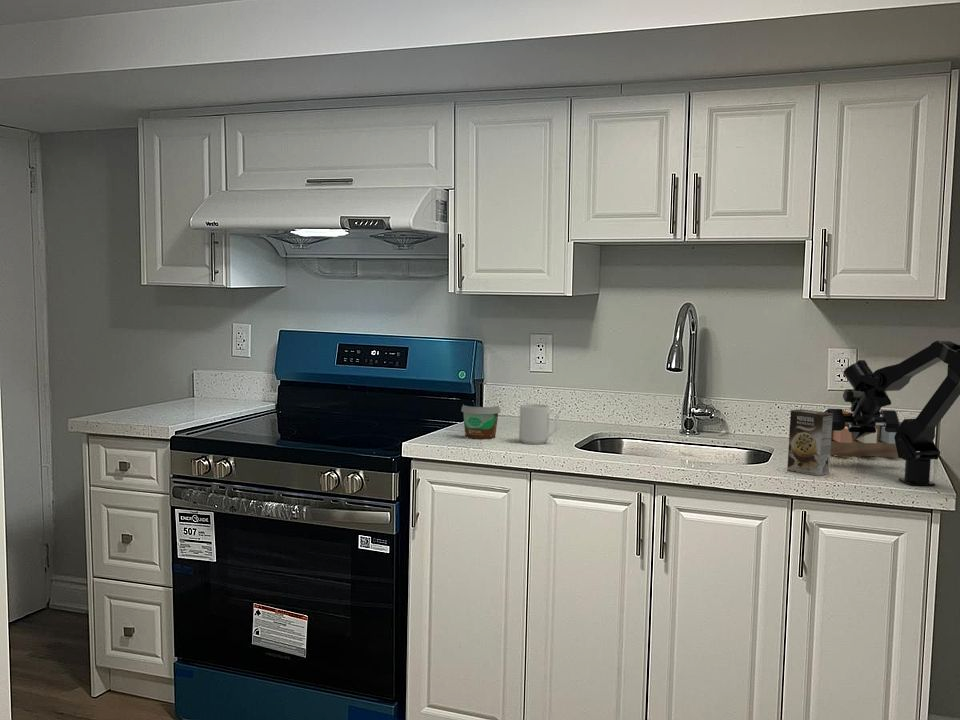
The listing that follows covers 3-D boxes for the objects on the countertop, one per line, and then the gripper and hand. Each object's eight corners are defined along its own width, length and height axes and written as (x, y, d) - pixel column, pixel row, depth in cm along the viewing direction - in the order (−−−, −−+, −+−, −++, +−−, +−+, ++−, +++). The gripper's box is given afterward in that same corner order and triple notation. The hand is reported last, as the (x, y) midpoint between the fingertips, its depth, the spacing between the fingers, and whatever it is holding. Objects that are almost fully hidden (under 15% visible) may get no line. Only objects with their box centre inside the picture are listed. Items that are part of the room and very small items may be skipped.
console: (899, 457, 274) (901, 422, 273) (824, 455, 273) (826, 420, 272) (881, 450, 285) (883, 416, 285) (809, 448, 285) (810, 414, 284)
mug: (514, 443, 283) (515, 406, 282) (525, 439, 291) (526, 403, 290) (552, 446, 278) (553, 409, 277) (562, 442, 286) (563, 406, 285)
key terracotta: (852, 442, 268) (852, 428, 268) (839, 442, 268) (840, 428, 267) (843, 439, 274) (844, 425, 273) (831, 439, 274) (832, 425, 273)
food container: (456, 438, 288) (457, 406, 287) (460, 435, 294) (461, 403, 293) (496, 440, 286) (497, 408, 285) (499, 437, 292) (500, 405, 291)
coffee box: (786, 470, 249) (789, 410, 248) (797, 468, 253) (800, 408, 252) (819, 476, 242) (822, 414, 241) (830, 473, 247) (833, 412, 246)
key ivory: (876, 443, 268) (877, 429, 268) (864, 443, 268) (865, 429, 268) (867, 439, 274) (868, 426, 274) (855, 439, 274) (856, 425, 274)
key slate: (900, 443, 268) (901, 429, 268) (888, 443, 268) (889, 429, 268) (891, 440, 274) (892, 426, 274) (879, 440, 274) (880, 426, 274)
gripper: (898, 381, 256) (881, 416, 268) (828, 379, 257) (814, 413, 269) (908, 414, 249) (890, 448, 260) (836, 411, 249) (821, 446, 261)
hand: (853, 438), depth 263 cm, fingers closed
